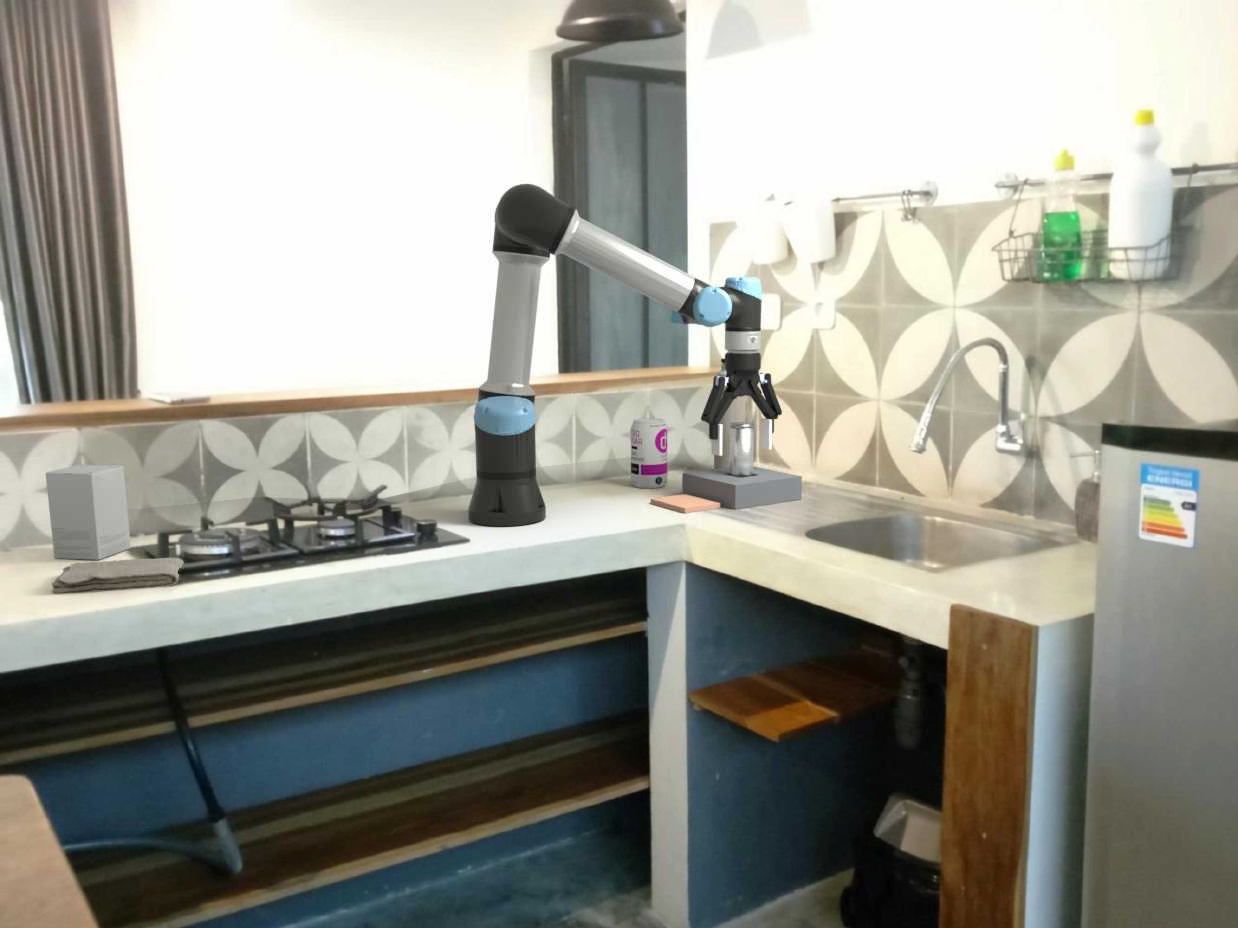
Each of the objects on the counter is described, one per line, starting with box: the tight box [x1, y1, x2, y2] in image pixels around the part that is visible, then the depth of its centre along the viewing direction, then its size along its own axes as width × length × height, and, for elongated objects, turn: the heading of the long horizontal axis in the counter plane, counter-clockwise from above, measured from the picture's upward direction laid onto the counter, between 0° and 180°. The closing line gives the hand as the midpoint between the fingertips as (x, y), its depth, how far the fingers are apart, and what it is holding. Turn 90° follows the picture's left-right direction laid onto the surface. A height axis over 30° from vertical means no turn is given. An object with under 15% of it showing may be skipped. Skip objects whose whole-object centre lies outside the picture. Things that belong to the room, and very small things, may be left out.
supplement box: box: [45, 464, 132, 561], centre depth 187 cm, size 9×9×15 cm
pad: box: [650, 494, 721, 514], centre depth 225 cm, size 9×12×1 cm
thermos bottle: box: [713, 358, 750, 469], centre depth 257 cm, size 8×8×28 cm
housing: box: [681, 465, 803, 510], centre depth 233 cm, size 18×18×5 cm
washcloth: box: [51, 557, 185, 595], centre depth 171 cm, size 12×18×3 cm, turn 106°
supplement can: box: [630, 417, 668, 489], centre depth 247 cm, size 8×8×15 cm
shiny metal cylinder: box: [730, 421, 755, 478], centre depth 232 cm, size 5×5×16 cm
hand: (741, 452), depth 232 cm, fingers open, 13 cm apart
